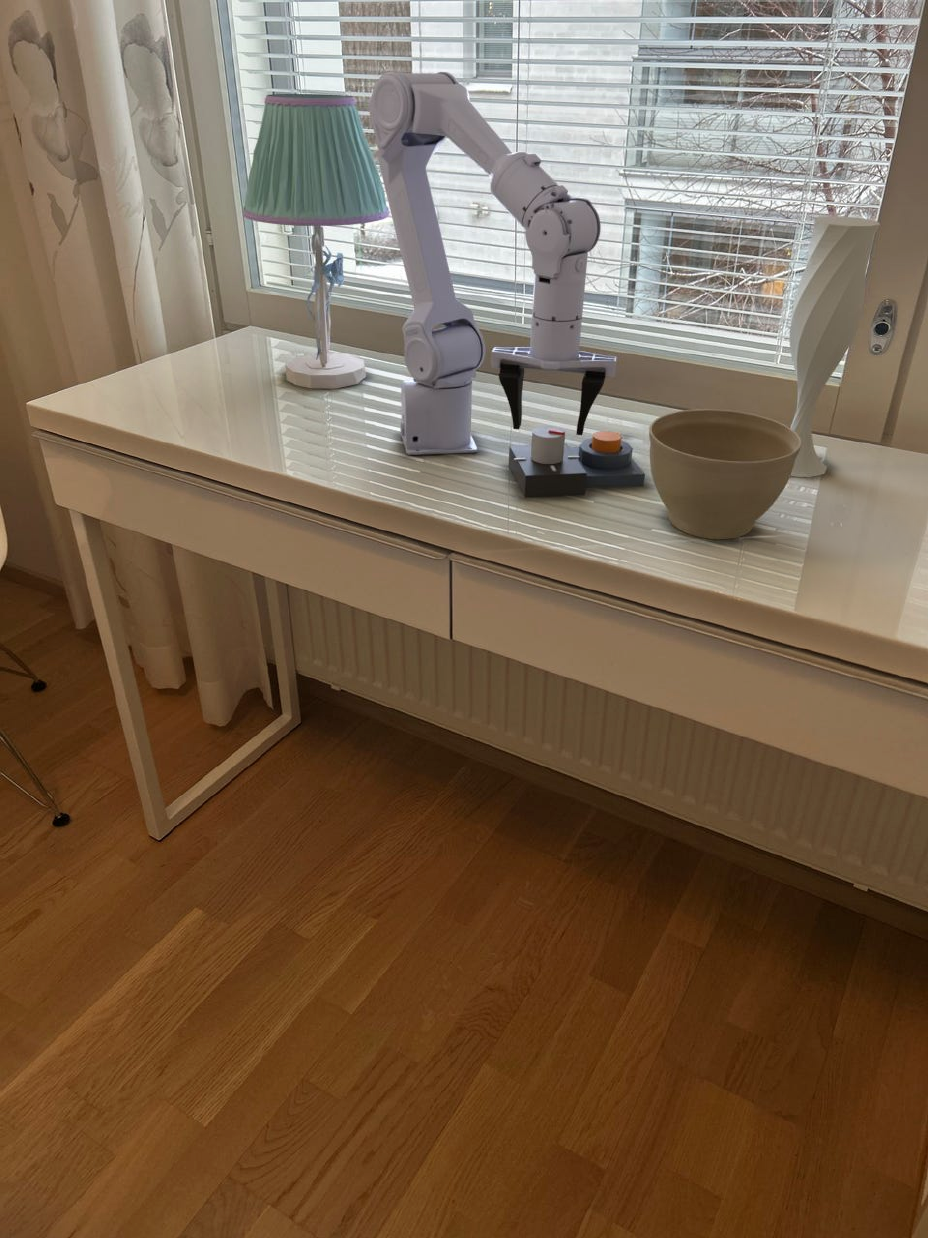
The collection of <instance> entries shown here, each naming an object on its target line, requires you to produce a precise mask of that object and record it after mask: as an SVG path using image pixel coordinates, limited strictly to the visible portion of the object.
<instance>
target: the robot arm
mask: <svg viewBox="0 0 928 1238" xmlns="http://www.w3.org/2000/svg"><path fill="white" fill-rule="evenodd" d="M367 108H368V112H369V117H370V120H371V125H372V129H373V133H374V137H375V142H376V145H377V153H378V154H377V156H378V165H379V169H380V174H381V177H382V181H383V186H384V189H385V190H384V191H385V193H386V194H385V195H386V198H387V201H388V202H387V203H388V206H389V212H390V214H391V219H392V222H393V226H394V230H395V231H394V232H395V235H396V239H397V243H398V247H399V252H400V256H401V259H402V264H403V267H404V272H405V276H406V280H407V283H408V288H409V292H410V297H411V301H412V305H413V310H412V313H410V315H409V317H408V318H407V319H406V321H405V323H404V324H403V326H402V328H401V330H402V334H403V339H404V350H403V358H404V364H405V367H406V369H407V372H408V373H409V374H410V377H412V379H410V380H403V381H401V388H400V390H401V391H400V393H401V394H400V396H401V397H400V398H401V400H400V401H401V403H400V404H401V406H400V407H401V422H400V436H401V438H402V442H403V445H404V449H405V453H406V455H408V456H414V455H415V456H418V455H420V456H421V455H442V454H443V455H445V454H447V455H449V454H471V453H477V452H478V447H477V445H476V442H475V440H474V439H473V436H472V407H473V406H472V404H473V403H472V401H473V396H472V395H473V379H474V378H476V376H477V369H479V368H480V367H481V366H482V364H483V363H484V361H485V358H486V353H487V351H486V350H487V349H486V342H485V338H484V336H483V334H482V332H481V330H480V329H479V328H478V325H477V324H476V321H475V317H474V313H473V311H472V310H471V309H470V308H469V307H468V306H467V305H465V304H464V303H463V302H461V301H460V300H459V299H458V298H457V297H456V293H455V290H454V285H453V280H452V276H451V272H450V267H449V264H448V259H447V254H446V249H445V245H444V241H443V237H442V233H441V228H440V224H439V218H438V215H437V210H436V206H435V202H434V198H433V193H432V189H431V184H430V180H429V176H428V173H427V171H428V170H427V166H428V164H429V162H430V159H431V158H432V156H433V155H435V154H436V152H437V151H438V150H439V148H440V147H441V146H442V145H443V144H444V143H445V141H446V140H447V139H449V141H450V142H452V143H453V144H454V145H455V146H456V147H457V148H458V150H460V151H461V152H463V153H464V155H466V156H467V157H468V158H469V159H470V160H471V161H472V162H473V163H474V164H476V166H478V167H479V168H480V169H481V170H482V171H483V172H484V173H485V174H486V175H488V177H489V178H490V180H489V181H490V182H489V183H490V185H489V186H490V193H491V195H492V196H493V197H494V198H495V199H496V200H497V201H498V202H499V204H500V205H501V206H502V207H503V208H504V209H505V210H506V211H507V212H508V213H509V214H510V215H511V216H512V218H513V219H514V220H516V222H517V223H518V224H519V225H520V226H521V227H522V228H523V229H524V232H525V241H526V244H527V247H528V250H529V251H530V254H531V260H532V261H531V269H532V270H533V275H534V278H533V279H534V280H533V293H532V294H533V295H532V308H531V309H532V311H531V325H530V342H529V343H530V344H529V346H527V347H526V346H523V347H521V346H520V347H519V346H518V347H517V346H516V347H499V346H494V347H493V348H492V350H491V356H490V368H491V369H499V373H498V379H499V383H500V385H501V387H502V390H503V391H504V394H505V396H506V399H507V402H508V405H509V409H510V413H511V418H512V419H511V420H512V429H513V430H520V428H521V426H522V418H523V386H524V376H525V370H537V371H539V370H540V371H548V372H549V371H551V372H560V373H561V372H562V373H564V372H565V373H573V374H574V373H575V374H583V377H582V380H581V390H580V391H581V392H580V405H579V413H578V420H577V425H576V433H575V434H576V436H583V434H584V430H585V425H586V424H585V423H586V421H587V419H588V416H589V413H590V411H591V409H592V406H593V404H594V402H595V401H596V399H597V397H598V395H599V393H600V392H601V390H602V388H603V387H604V384H605V381H606V378H611V379H613V378H615V376H616V370H617V362H618V361H617V360H618V356H612V355H604V354H600V353H599V354H598V353H593V352H587V351H582V350H580V344H581V333H582V321H583V311H584V302H585V289H586V278H587V268H588V267H587V266H588V256H589V255H588V254H589V252H591V251H592V250H593V249H594V248H595V247H596V246H597V244H598V242H599V239H600V236H601V229H602V227H601V219H600V216H599V213H598V211H597V209H596V208H595V207H594V205H593V203H592V202H591V200H590V199H588V198H585V197H573V196H572V195H570V194H568V193H569V190H568V189H567V188H566V187H565V186H564V185H562V184H561V185H560V184H558V182H557V181H556V180H555V179H554V178H553V177H552V176H551V175H550V174H549V173H548V172H547V171H546V170H545V169H544V168H543V167H542V166H541V163H542V160H541V158H540V157H539V156H538V155H537V154H536V153H528V152H526V151H516V152H513V151H512V150H511V149H510V148H509V147H508V146H507V145H506V143H505V142H504V140H503V139H502V138H501V137H500V136H499V135H498V134H497V132H496V131H495V129H494V128H493V127H492V126H491V125H490V124H489V123H488V121H487V119H485V118H484V116H483V115H482V114H481V113H480V112H479V111H478V109H477V108H476V107H475V105H473V103H472V102H471V101H470V94H469V90H468V88H467V87H465V86H464V85H462V83H460V82H459V80H458V79H457V78H456V77H455V76H454V75H453V74H451V73H450V72H447V71H438V72H436V73H435V72H434V73H433V72H432V73H431V72H429V73H427V72H426V73H425V72H424V73H423V72H421V73H420V72H418V73H417V72H415V73H414V72H413V73H411V72H407V73H406V72H404V73H403V72H400V73H399V72H397V71H386V72H385V73H383V74H382V75H380V77H379V78H378V79H377V81H376V82H375V86H374V87H373V91H372V94H371V96H370V98H369V102H368V104H367ZM436 326H444V327H441V328H438V329H434V328H435V327H436Z"/></svg>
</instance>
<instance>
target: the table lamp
mask: <svg viewBox="0 0 928 1238" xmlns="http://www.w3.org/2000/svg"><path fill="white" fill-rule="evenodd" d="M356 105H357V102H356V99H355V98H354V96H352V95H345V94H327V93H326V94H325V93H323V94H322V93H321V94H320V93H275V94H274V93H273V94H272V93H271V94H267V95H266V97H265V98H264V108H263V113H262V118H261V123H260V128H259V132H258V137H257V141H256V143H255V147H254V150H253V153H252V163H251V166H250V171H249V175H248V179H247V186H246V193H245V202H244V206H243V209H242V215H243V217H244V218H246V219H247V220H251V221H253V222H258V223H265V224H271V225H279V226H280V225H281V226H294V227H295V226H296V227H298V226H299V227H313V234H312V235H311V244H310V245H311V250H312V255H313V257H314V259H315V263H314V269H313V271H314V274H313V285H312V286H311V292H310V293H309V294H308V296H307V299H306V305H307V310H308V315H309V316H310V317H312V320H313V322H314V329H315V331H314V332H315V341H316V349H317V353H310V354H309V353H308V354H304V355H296V356H295V357H294V358H292V359H291V360H289V361H288V362H286V363H285V364H284V368H285V376H286V381H287V382H289V383H291V384H293V385H294V386H298V387H301V388H302V387H304V388H306V389H330V390H331V389H341V388H345V387H349V386H355V385H358V384H359V383H361V382H362V381H363V380H364V379H365V378H366V377H367V374H366V366H365V360H364V359H362V358H359V357H357V356H354V355H351V354H349V353H334V352H333V353H332V352H330V348H331V326H332V325H331V324H332V322H331V319H332V318H331V317H332V316H331V298H332V290H333V288H334V286H335V283H336V285H337V288H340V287H342V286H343V285H344V284H345V277H344V254H343V253H342V252H336V259H334V260H333V261H332V262H330V263H329V261H330V260H331V258H332V251H330V249H329V247H328V246H326V245H325V234H324V233H325V231H324V227H334V226H335V227H336V226H352V225H360V224H361V225H362V224H369V223H373V222H378V221H382V220H385V219H387V218H389V216H390V208H389V207H388V205H387V201H386V194H385V190H384V189H385V188H384V187H383V186H384V185H383V183H382V180H381V177H380V174H379V170H378V168H377V164H376V161H375V160H376V159H375V157H374V154H373V152H372V149H371V147H370V144H369V142H368V140H367V137H366V135H365V132H364V131H365V130H364V128H363V124H362V120H361V117H360V113H359V111H358V108H356ZM323 247H325V249H326V250H327V252H326V251H325V250H323ZM324 256H325V259H324ZM327 281H328V282H327ZM328 283H329V288H328ZM313 295H314V314H313V312H312V311H311V307H310V306H311V304H310V303H311V301H310V300H311V298H312V296H313Z"/></svg>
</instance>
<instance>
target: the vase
mask: <svg viewBox="0 0 928 1238" xmlns="http://www.w3.org/2000/svg"><path fill="white" fill-rule="evenodd" d="M812 222H813V227H812V233H811V238H810V243H809V249H808V255H807V260H806V266H805V268H804V270H803V273H802V275H801V278H800V280H799V282H798V286H797V288H796V292H795V295H794V300H793V304H792V309H791V320H790V327H789V350H790V354H791V359H792V364H793V369H794V372H795V377H796V381H797V402H796V409H795V414H794V417H793V418H792V422H791V424H790V427H789V428H791V429H792V430H793V431H795V432H796V433H797V434H798V435H799V437H800V439H801V448H800V451H799V453H798V455H797V457H796V459H795V463H794V466H793V469H792V472H791V475H790V477H796V478H797V477H798V478H799V477H800V478H812V477H817V476H821V475H825V474H826V472H827V469H828V466H827V465H826V464H825V463H823V462H822V461H821V460H820V458H819V457H818V455H817V453H816V450H815V446H814V439H813V431H812V425H813V418H814V417H813V416H814V410H815V407H816V405H817V403H818V402H817V401H818V400H819V397H820V395H821V392H822V391H823V389H824V387H825V386H826V384H827V383H828V381H829V379H830V378H831V377H832V375H833V373H835V370H836V369H837V368H838V366H839V365H840V363H841V361H842V360H843V358H844V357H845V355H846V353H847V351H848V349H849V348H850V346H851V345H852V343H853V340H854V338H855V335H856V333H857V330H858V327H859V325H860V321H861V318H862V313H863V309H864V304H865V303H864V302H865V296H866V295H865V294H866V284H867V283H866V281H867V268H868V265H869V261H870V256H871V252H872V246H873V243H874V238H875V235H876V233H877V231H878V229H879V227H880V226H881V223H880V222H879V221H877V220H872V219H868V218H862V217H854V216H843V215H841V216H839V215H825V216H824V215H821V216H816V217H812Z"/></svg>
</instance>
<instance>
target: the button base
mask: <svg viewBox="0 0 928 1238" xmlns="http://www.w3.org/2000/svg"><path fill="white" fill-rule="evenodd" d="M592 438H593V437H591V438H587V439H584V440H583V441H581V443H580V444H579V446H569V448H570V449H571V451H572V452H573V454H574V455H575V456H579V458H577V460H578V461H579V462H580V464H581V465H582V467H583V468H584V470H585V471H586V473H587V476H586V487H585V489H606V488H624V487H625V488H627V487H628V488H629V487H644V484H645V477H646V473H645V472H644V471H643V469H642V468H641V467H640V466H639V465H638V464H637V462H636V461H635V460H634V458H633V447H632V445H631V444H630V443H629V442H626V441H624V440H621V446H620V451H619V452H615V453H603V452H597V451H595V450H593V449H592Z"/></svg>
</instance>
